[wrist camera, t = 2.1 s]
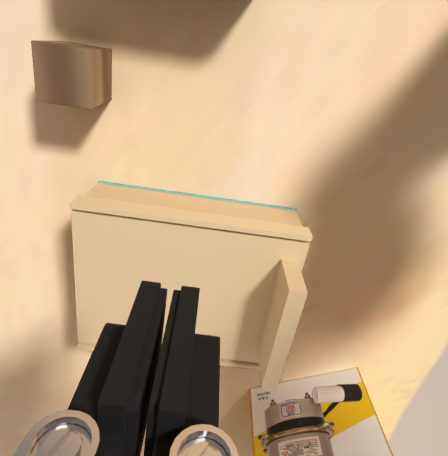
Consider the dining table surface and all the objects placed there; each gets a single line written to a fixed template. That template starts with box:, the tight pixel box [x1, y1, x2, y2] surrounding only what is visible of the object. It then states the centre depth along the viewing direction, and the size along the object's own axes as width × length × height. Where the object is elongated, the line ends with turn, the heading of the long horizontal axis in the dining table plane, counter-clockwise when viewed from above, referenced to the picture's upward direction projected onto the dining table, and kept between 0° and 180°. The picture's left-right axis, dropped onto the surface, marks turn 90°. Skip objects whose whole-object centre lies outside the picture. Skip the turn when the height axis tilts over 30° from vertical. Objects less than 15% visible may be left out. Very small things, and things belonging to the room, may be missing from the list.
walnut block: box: [31, 41, 112, 109], centre depth 32 cm, size 4×4×6 cm
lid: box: [70, 195, 313, 390], centre depth 35 cm, size 22×18×7 cm
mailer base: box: [86, 181, 303, 226], centre depth 40 cm, size 22×16×7 cm
